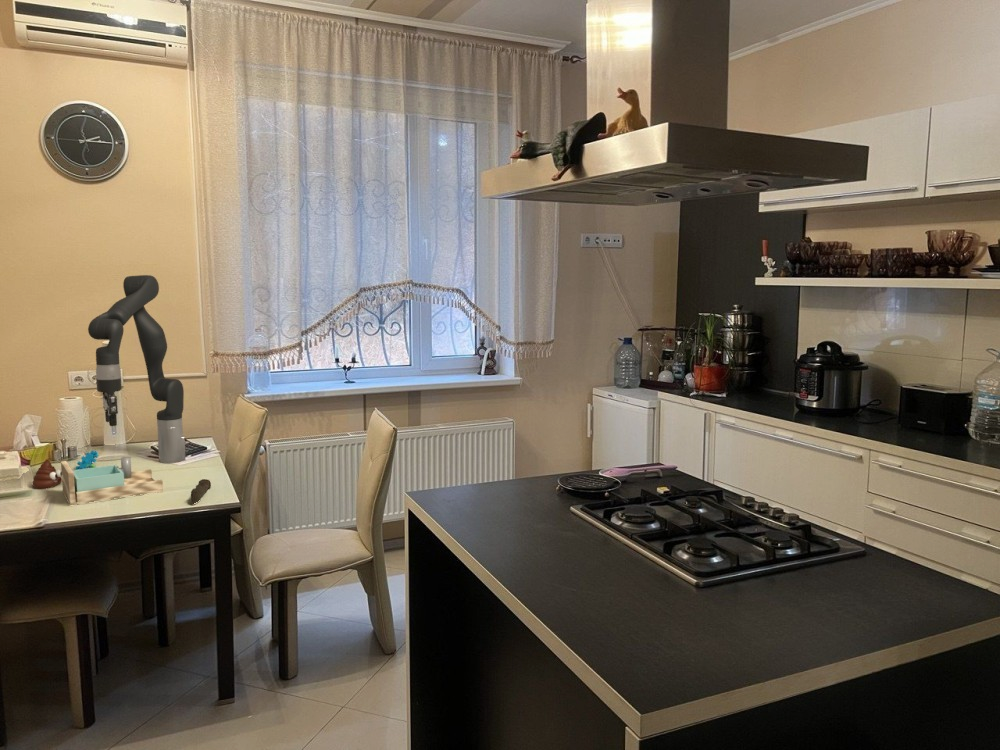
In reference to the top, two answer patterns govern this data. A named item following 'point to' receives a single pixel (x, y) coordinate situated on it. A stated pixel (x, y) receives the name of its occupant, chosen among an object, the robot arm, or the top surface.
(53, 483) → the poop emoji
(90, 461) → the gear
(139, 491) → the bay
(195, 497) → the dark brown lumpy rod
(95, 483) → the crate
